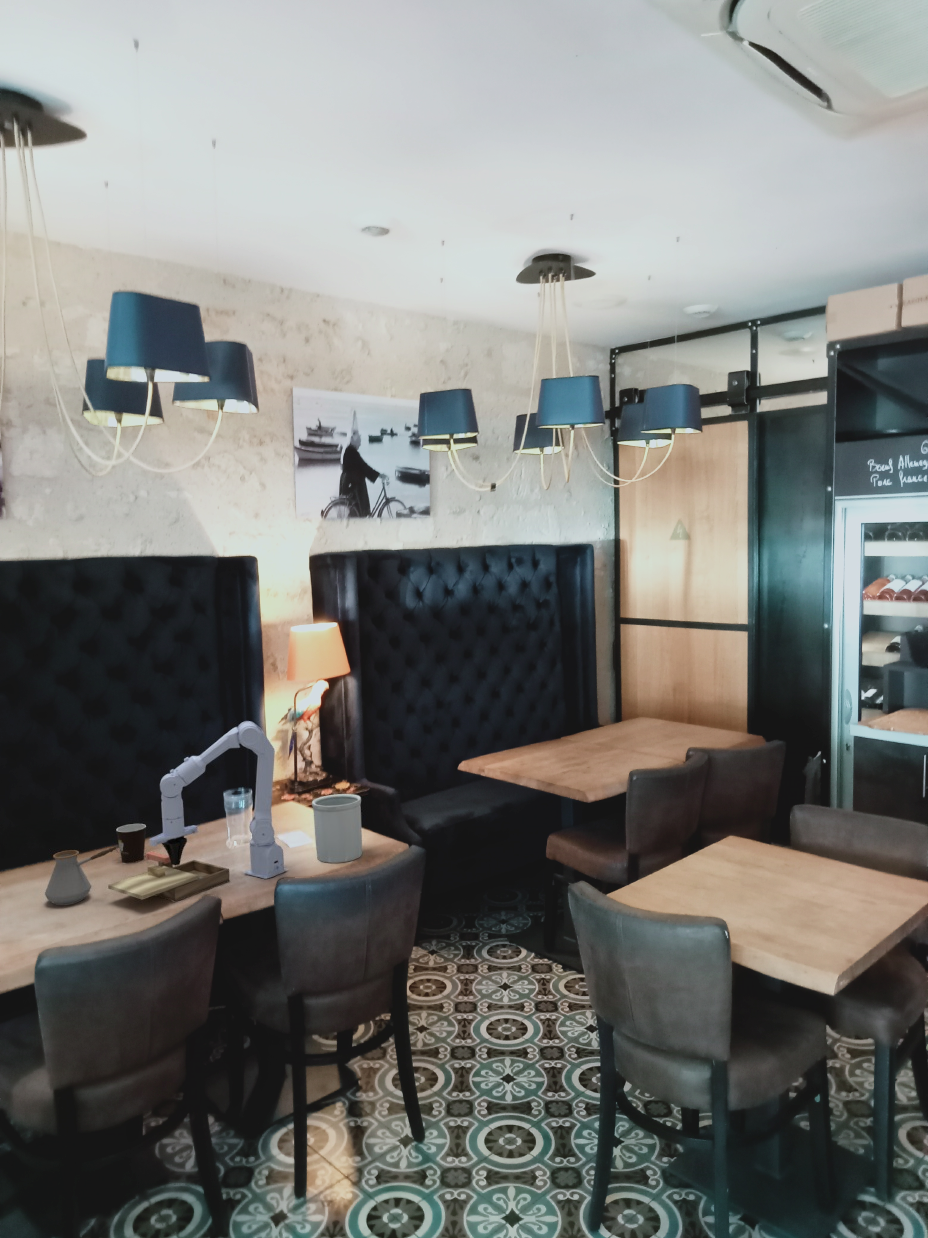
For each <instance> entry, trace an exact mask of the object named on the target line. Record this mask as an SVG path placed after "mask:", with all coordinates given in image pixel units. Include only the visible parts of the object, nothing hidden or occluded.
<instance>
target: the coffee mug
mask: <svg viewBox="0 0 928 1238" xmlns="http://www.w3.org/2000/svg"><path fill="white" fill-rule="evenodd" d="M146 829H147V826H146V824H143V823H133V824H125V825H122V826H119V827H117V828H116V837H117V841H118V846H119V853H120V852H121V853H120V856H121V857H120V859H121V862H122V863H124V864H125V863H126V864H132V863H137V862H140V861H141V862H142V861H143V860H144V859H145V845H146V832H147V831H146ZM120 847H121V848H120ZM121 849H122V851H121Z"/></svg>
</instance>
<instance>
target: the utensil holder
mask: <svg viewBox="0 0 928 1238" xmlns="http://www.w3.org/2000/svg"><path fill="white" fill-rule="evenodd" d="M361 802H362V797H361V796H360V795H358V794H353V793H339V794H337V793H336V794H330V795H325V796H320V797H317V798H314V799H313V800H312V802H311V806H312V809H313V822H314V837H315V847H316V856H317V860H319V861H320V862H322V863H323V862H324V863H328V864H332V863H333V864H338V863H339V864H341V863H346V862H352V861H354V860H356V859H358V858H360V857H361V856H362V855H363V837H362V836H363V835H362V812H361V810H362V809H361V807H362V806H361V804H362V803H361Z"/></svg>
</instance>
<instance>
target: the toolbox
mask: <svg viewBox="0 0 928 1238" xmlns="http://www.w3.org/2000/svg"><path fill="white" fill-rule="evenodd" d="M157 864H158V865H157V866H161V867H163V866H166V867H169V868H173V869H177V870H180V871H184V872H188V873H191V874H195V875H198V879H197V880H194V881H191V882H189V883H186V884H183V885H180V886H178V887H175V888H172V889H170V890H167V891H164V892H161V893H159V894H156V895H155V896H156V897H159V898H163V899H165V898H166V900H169V901H172V902H179V901H181V900H183V899H186V898H189V897H191V896H194V895H197V894H199V893H202V892H205V891H208V890H211V889H213V888H216V887H218V886H220V885H223V884H225V883H229V882H230V869H229V868H226V867H223V866H222V867H221V866H219V865H215V864H212V863H208V862H203V861H200V860H196V859H192V860H189V861H186V862H184V863H183V862H182V863H180V864H179V865H176V866H175V865H172V864H171V862H169V863H166V864H164V863H163V862H162V861H158V862H157Z"/></svg>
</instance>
